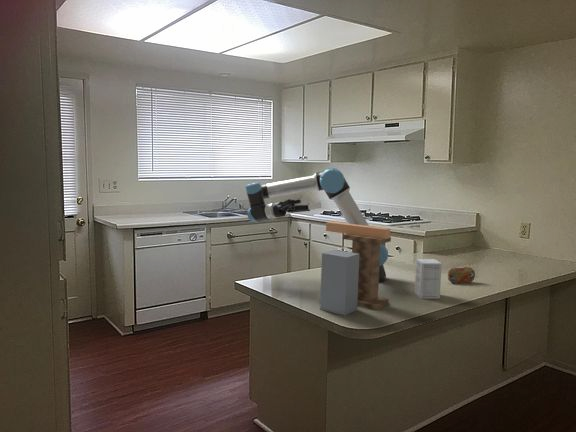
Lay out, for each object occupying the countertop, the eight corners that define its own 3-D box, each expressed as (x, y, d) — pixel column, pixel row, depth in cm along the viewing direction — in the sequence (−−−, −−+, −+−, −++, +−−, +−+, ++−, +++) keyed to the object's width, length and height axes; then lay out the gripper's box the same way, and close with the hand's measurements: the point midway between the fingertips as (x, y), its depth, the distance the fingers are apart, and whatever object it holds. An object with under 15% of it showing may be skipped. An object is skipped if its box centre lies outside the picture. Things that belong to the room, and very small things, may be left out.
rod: (325, 230, 221) (326, 222, 220) (330, 230, 224) (331, 221, 223) (385, 239, 202) (386, 229, 202) (389, 237, 206) (390, 228, 205)
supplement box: (433, 293, 231) (435, 258, 229) (440, 299, 222) (442, 263, 220) (413, 293, 231) (415, 258, 229) (419, 298, 222) (421, 262, 220)
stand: (339, 301, 215) (341, 234, 211) (353, 295, 224) (355, 231, 220) (375, 310, 204) (378, 239, 200) (388, 303, 213) (391, 236, 209)
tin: (449, 284, 249) (450, 268, 248) (446, 282, 252) (447, 267, 251) (474, 283, 253) (475, 267, 252) (471, 281, 256) (472, 266, 255)
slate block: (320, 309, 203) (321, 253, 200) (333, 303, 211) (335, 249, 208) (344, 315, 196) (346, 257, 193) (357, 309, 203) (359, 253, 200)
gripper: (289, 220, 249) (326, 213, 239) (262, 214, 228) (302, 206, 218) (288, 206, 251) (324, 199, 240) (261, 198, 229) (300, 189, 219)
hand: (314, 202), depth 229 cm, fingers open, 13 cm apart
